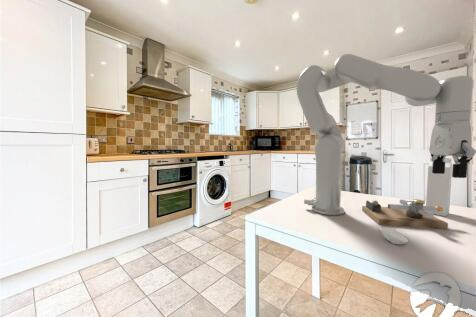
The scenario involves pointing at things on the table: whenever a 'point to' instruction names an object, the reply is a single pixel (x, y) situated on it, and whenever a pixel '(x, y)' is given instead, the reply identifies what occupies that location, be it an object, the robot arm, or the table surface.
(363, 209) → the stand
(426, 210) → the capstan
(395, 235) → the dumpling
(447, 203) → the milk
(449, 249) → the table surface
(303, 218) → the table surface
